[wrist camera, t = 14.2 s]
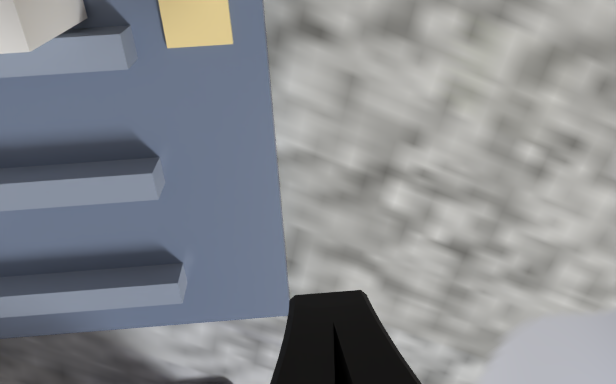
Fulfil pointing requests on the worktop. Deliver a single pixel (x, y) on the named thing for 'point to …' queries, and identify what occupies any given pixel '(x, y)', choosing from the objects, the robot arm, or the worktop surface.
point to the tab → (36, 22)
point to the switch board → (141, 172)
